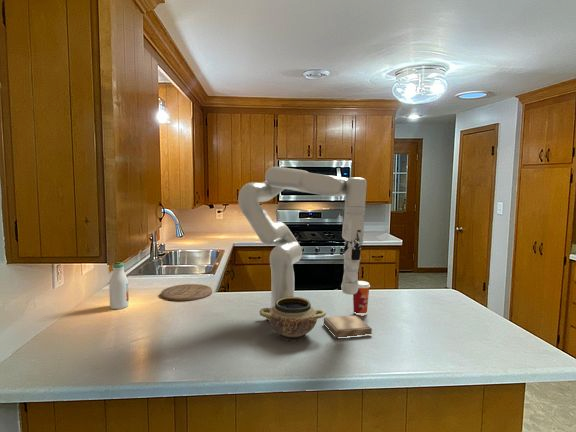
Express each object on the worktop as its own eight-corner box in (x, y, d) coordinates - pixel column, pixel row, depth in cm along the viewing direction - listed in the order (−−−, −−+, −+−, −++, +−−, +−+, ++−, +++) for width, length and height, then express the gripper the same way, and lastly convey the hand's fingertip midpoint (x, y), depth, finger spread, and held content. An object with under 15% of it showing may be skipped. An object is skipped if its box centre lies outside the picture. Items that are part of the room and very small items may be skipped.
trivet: (217, 288, 197) (217, 285, 197) (202, 303, 172) (202, 299, 172) (173, 286, 199) (173, 283, 199) (152, 300, 175) (151, 297, 174)
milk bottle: (123, 309, 161) (122, 265, 159) (106, 309, 161) (105, 265, 159) (131, 304, 168) (130, 261, 167) (115, 303, 168) (114, 261, 167)
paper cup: (364, 318, 154) (365, 286, 153) (348, 314, 159) (349, 283, 158) (372, 313, 160) (373, 282, 159) (356, 309, 165) (357, 279, 164)
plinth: (336, 339, 133) (336, 330, 132) (323, 325, 146) (323, 317, 146) (371, 336, 136) (371, 327, 136) (356, 322, 149) (356, 314, 149)
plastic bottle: (338, 294, 138) (341, 242, 135) (344, 289, 144) (347, 240, 141) (354, 297, 135) (358, 244, 132) (360, 292, 141) (364, 242, 138)
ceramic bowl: (255, 348, 131) (253, 312, 126) (266, 319, 147) (264, 286, 142) (324, 354, 127) (324, 317, 122) (327, 323, 143) (327, 290, 138)
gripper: (337, 208, 144) (334, 253, 145) (354, 212, 127) (351, 263, 128) (354, 209, 145) (351, 253, 147) (374, 213, 128) (370, 263, 130)
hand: (351, 257), depth 138 cm, fingers closed on plastic bottle, 6 cm apart
